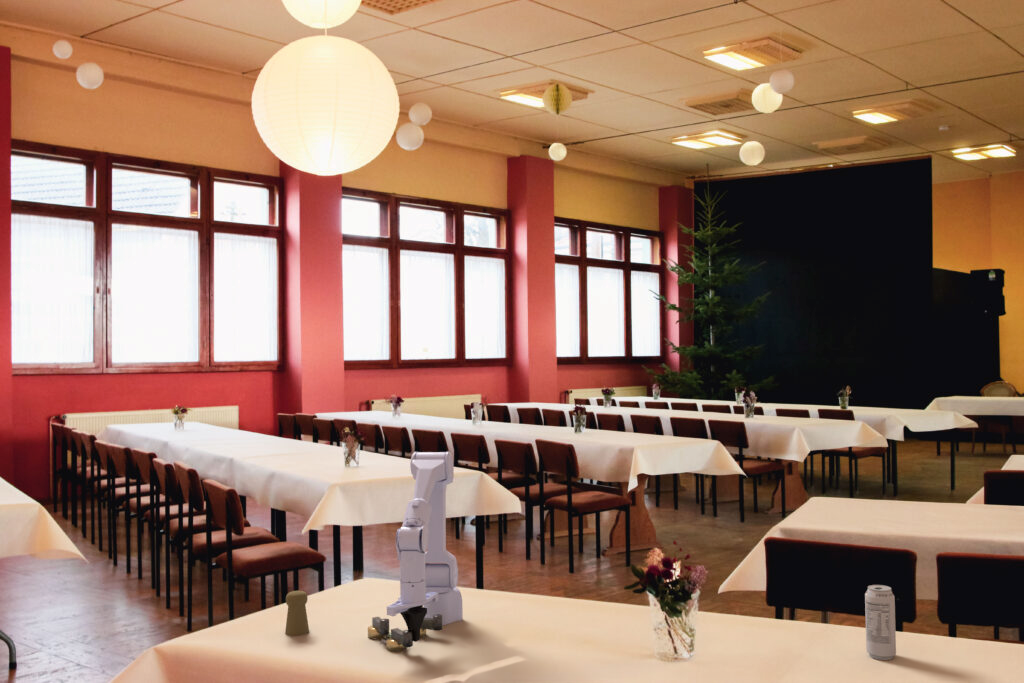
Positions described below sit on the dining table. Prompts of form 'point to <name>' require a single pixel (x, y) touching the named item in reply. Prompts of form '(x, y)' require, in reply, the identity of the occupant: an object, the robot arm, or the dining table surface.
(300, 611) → the cork
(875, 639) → the energy drink can
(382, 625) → the knob
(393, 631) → the knob
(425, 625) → the knob
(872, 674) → the dining table surface
